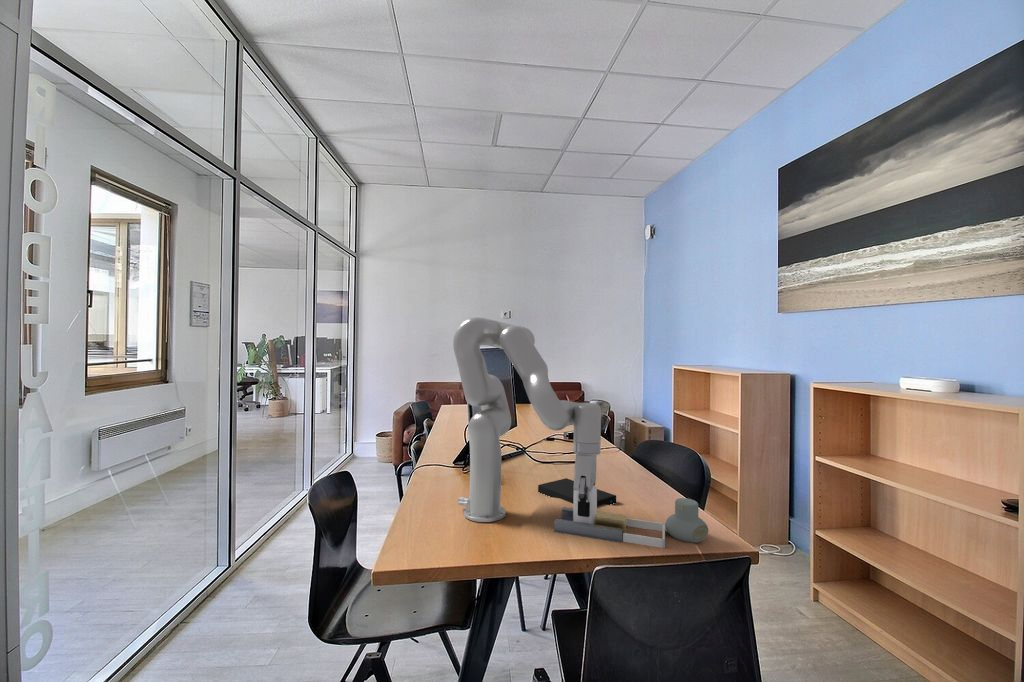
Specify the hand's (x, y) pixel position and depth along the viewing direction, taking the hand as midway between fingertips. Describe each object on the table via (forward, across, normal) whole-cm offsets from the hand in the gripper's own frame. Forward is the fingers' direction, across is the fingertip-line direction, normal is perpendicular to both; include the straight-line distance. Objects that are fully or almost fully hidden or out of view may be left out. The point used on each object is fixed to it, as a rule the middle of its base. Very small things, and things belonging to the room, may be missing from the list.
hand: (585, 510), depth 120 cm
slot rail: (+5, 0, +1) cm, 6 cm away
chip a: (+4, 0, +5) cm, 7 cm away
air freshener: (+6, -5, +26) cm, 27 cm away
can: (+4, 0, 0) cm, 4 cm away
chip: (+4, 0, +9) cm, 10 cm away
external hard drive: (+6, -26, -8) cm, 28 cm away
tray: (+5, 0, +16) cm, 17 cm away
